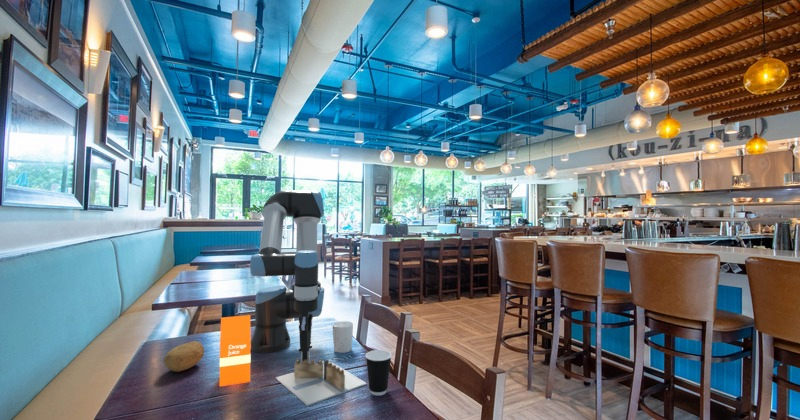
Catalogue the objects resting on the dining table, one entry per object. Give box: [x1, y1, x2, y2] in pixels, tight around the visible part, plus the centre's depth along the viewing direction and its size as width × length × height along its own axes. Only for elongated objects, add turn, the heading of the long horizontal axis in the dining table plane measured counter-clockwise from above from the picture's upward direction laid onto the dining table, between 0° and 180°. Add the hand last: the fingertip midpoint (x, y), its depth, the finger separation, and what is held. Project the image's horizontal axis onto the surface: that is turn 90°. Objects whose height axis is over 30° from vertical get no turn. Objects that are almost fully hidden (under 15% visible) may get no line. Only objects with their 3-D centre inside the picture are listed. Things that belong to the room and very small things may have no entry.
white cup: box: [332, 320, 354, 354], centre depth 143 cm, size 8×8×10 cm
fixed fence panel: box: [323, 359, 345, 390], centre depth 114 cm, size 11×1×6 cm, turn 41°
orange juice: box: [219, 314, 252, 387], centre depth 117 cm, size 8×9×20 cm
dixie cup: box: [364, 349, 393, 396], centre depth 110 cm, size 8×8×11 cm
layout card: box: [275, 361, 367, 407], centre depth 116 cm, size 22×20×1 cm
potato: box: [163, 340, 205, 373], centre depth 124 cm, size 10×14×8 cm
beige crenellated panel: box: [293, 358, 324, 378], centre depth 118 cm, size 9×1×5 cm, turn 86°
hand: (305, 369), depth 120 cm, fingers closed
